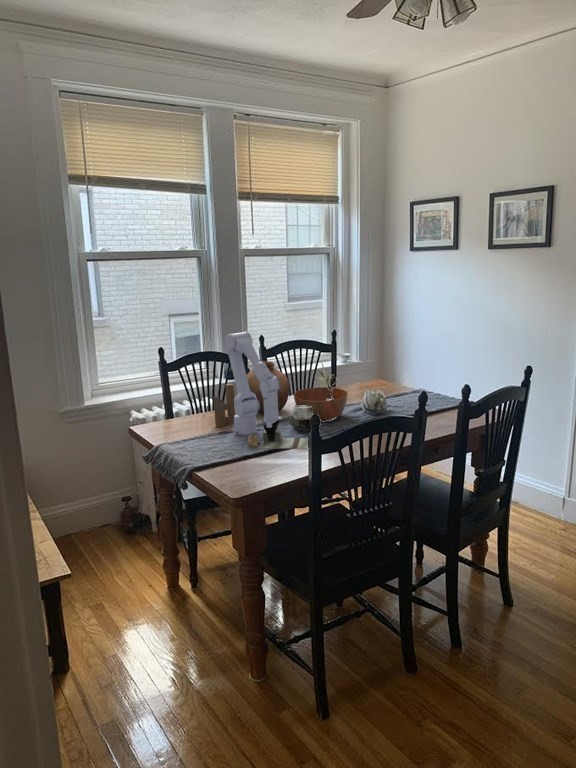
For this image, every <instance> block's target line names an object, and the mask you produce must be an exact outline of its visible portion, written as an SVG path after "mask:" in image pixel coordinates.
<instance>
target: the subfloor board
mask: <svg viewBox="0 0 576 768" xmlns="http://www.w3.org/2000/svg"><path fill="white" fill-rule="evenodd" d="M308 438H309V437H283V438H282V439H281V442H263V440H262V441H261V444H260V446H259V449H309V448H308Z"/></svg>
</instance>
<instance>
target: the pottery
mask: <svg viewBox="0 0 576 768" xmlns="http://www.w3.org/2000/svg"><path fill="white" fill-rule="evenodd" d="M261 362H263V363H265V364H266V366H267V368H268V369H269V371H270V373H271V374H272V375H274V376H275V377H277V378H278V380H279V382H280V388H279V390H277V396H278V412H280V411H282V410H283V409H284V408H285V406H286V404H287V402H288V400H289V394H290V383H289V382H290V381H289V379H288V377H287V376H286V375H285V374H284V373H283V372H282V371H280V370H279V369H278V368H275V367H276V366H275V363H274V362H272V361H269V360H262V361H261ZM246 376H247V380H248V384H249V388H250V391H251V392H252V393H254V394H256V398H257V400H258V401H259V405H260V407H259V410H258V411H257V414H262V415H264V400H263V396H262V392H261V390H260V382H259V380H258V378H257V377H256V375H255V373H254V372H253V369H252V370H250V371H249V372H248V373H246ZM247 399H248V398H246V399H244V400H247Z"/></svg>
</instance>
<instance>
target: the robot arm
mask: <svg viewBox="0 0 576 768" xmlns="http://www.w3.org/2000/svg"><path fill="white" fill-rule="evenodd" d="M224 343H225V344H224V345H225V349H226V353H227V355H228V357H229V361H230V366H231V370H232V375H233V379H234V383H235V386H236V390H237V392H236V393H237V395H236V396H234V410H235V414H237V415H235V416H234V423H233V433H234V435H244V436H247V435H248V436H251V435H252V434H251V432H253V434H254V435H255V434H257V432H258V431H257V430H258V428H257V414H258V413H257V411H258V410H259V407H260V405H259V401H258V400H257V398H256V394H254V393H252V392H251V391H250V388H249V384H248V380H247V376H246V375H247V371H246V367H245V363H244V360H243V354H244V355H245V357H246V358H247V359H248V361H249V362H250V363H251V365H252V366H253V367H252V370H253V372H254V373H255V375H256V377H257V378H258V380H259V382H260V390H261V392H262V396H263V400H264V414H263V416H264V417H263V420H264V421H265V423H264V424H263V430H264V429H265V430H266V433H267V436H268V440H269V441H274V440H275V432H276V429H278V426H279V422H281V420H282V416H279V411H278V396H277V390H279V388H280V382H279V380H278V378H277V377H275V376H274V375H272V374H271V373H270V371H269V369H268V368H267V366H266V364H265V363H263V362H262V361H261V360H260V358H259V356H258V354H257V352H256V350H255V347H254V345H253V338H252V336H251V333H250V332H249V331H248V330H247V331H243V332H236V333H229V334H227V335H226V337H225V339H224ZM246 398H248V399H247V400H245V399H246Z"/></svg>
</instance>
